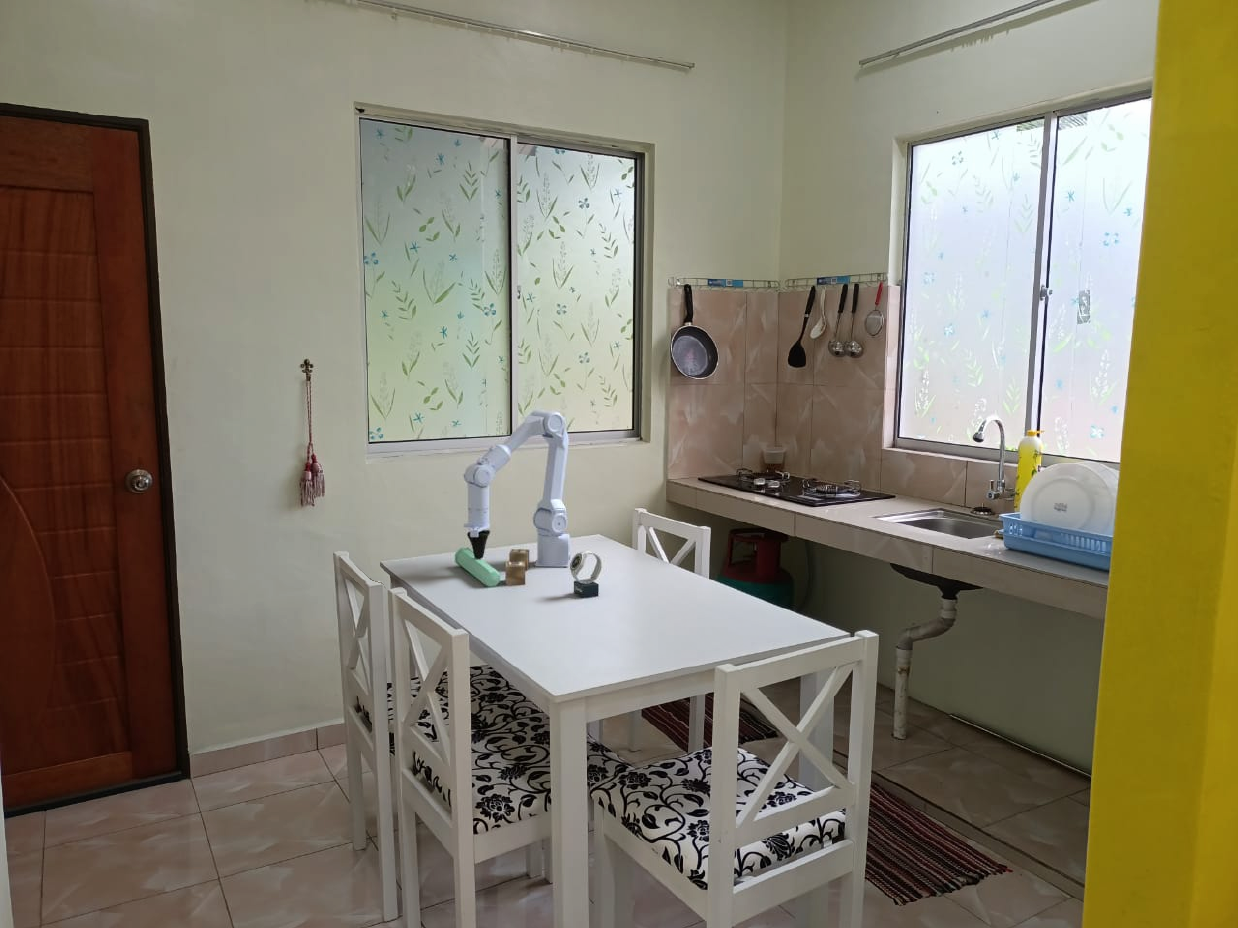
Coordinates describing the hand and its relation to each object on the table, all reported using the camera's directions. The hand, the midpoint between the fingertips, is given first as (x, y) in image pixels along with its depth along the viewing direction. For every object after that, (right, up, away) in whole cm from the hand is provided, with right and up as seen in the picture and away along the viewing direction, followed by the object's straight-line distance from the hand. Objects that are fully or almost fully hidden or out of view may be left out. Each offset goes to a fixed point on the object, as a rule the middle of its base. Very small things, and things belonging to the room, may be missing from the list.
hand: (478, 557), depth 246 cm
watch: (+30, -8, -17) cm, 35 cm away
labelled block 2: (+11, -6, -6) cm, 14 cm away
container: (0, -5, 0) cm, 5 cm away
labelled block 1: (+10, -4, +8) cm, 14 cm away
